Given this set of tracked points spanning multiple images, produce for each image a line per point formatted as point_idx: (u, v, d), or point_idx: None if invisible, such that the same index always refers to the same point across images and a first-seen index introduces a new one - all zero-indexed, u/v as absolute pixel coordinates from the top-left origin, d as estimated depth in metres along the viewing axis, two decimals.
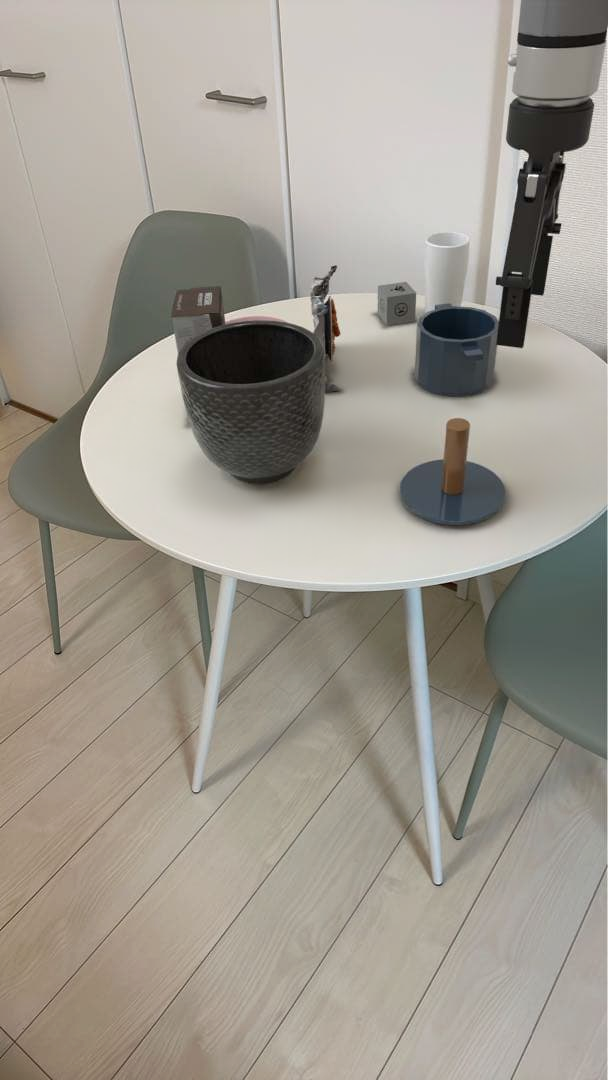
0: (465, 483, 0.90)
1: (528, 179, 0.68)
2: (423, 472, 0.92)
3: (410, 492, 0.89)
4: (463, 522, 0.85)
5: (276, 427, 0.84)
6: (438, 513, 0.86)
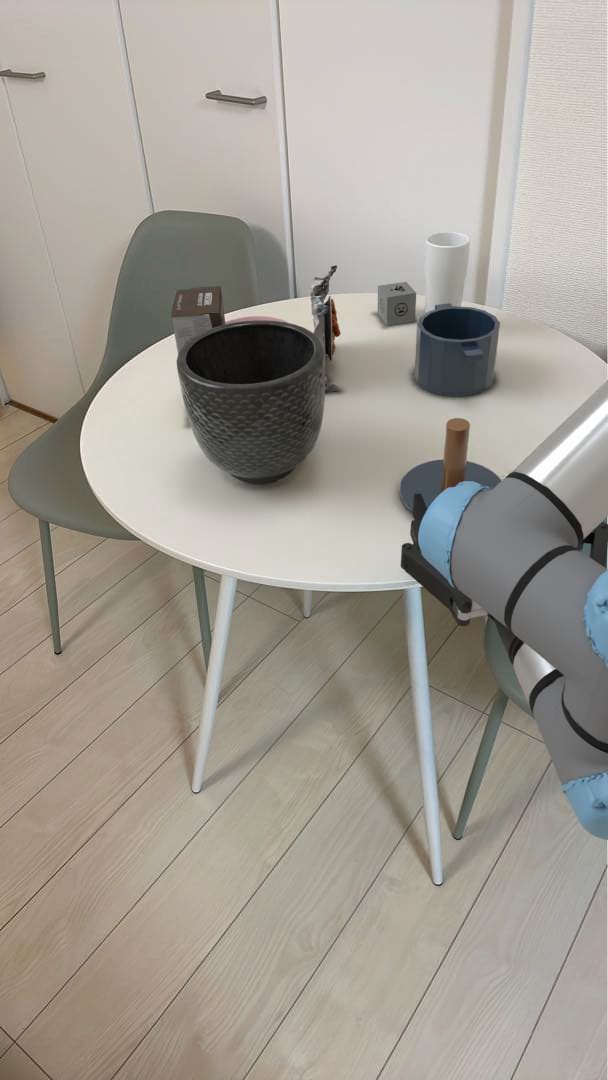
0: None
1: None
2: (423, 472, 0.92)
3: (410, 492, 0.89)
4: None
5: (276, 427, 0.84)
6: None
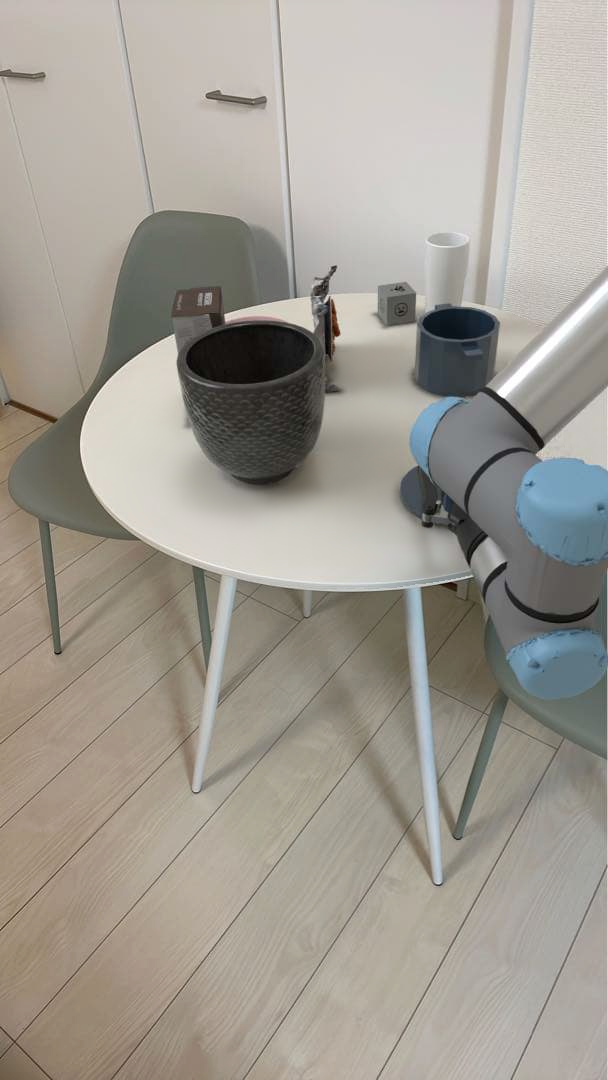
0: None
1: None
2: None
3: (410, 492, 0.89)
4: None
5: (276, 427, 0.84)
6: None
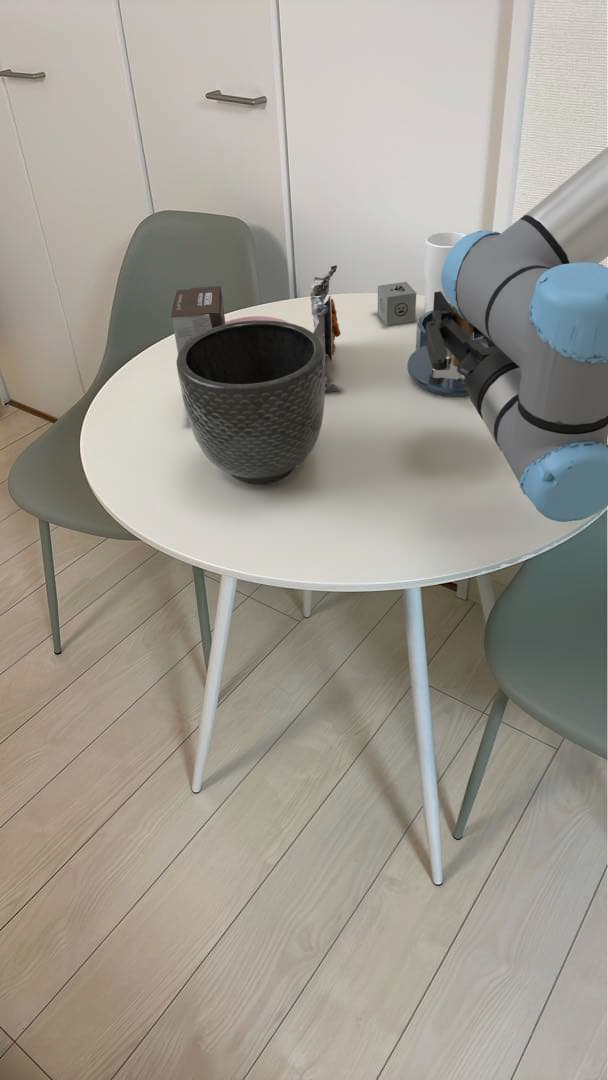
0: None
1: None
2: None
3: (418, 367, 0.89)
4: None
5: (276, 427, 0.84)
6: (446, 383, 0.86)
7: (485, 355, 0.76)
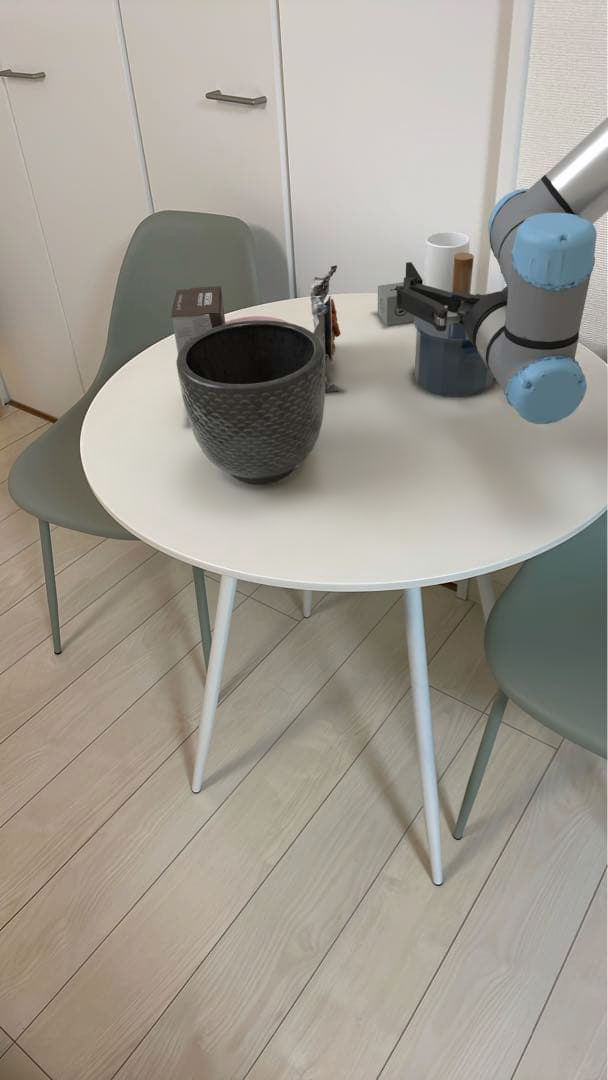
0: None
1: None
2: None
3: (423, 322, 1.06)
4: (468, 341, 1.02)
5: (276, 427, 0.84)
6: (447, 335, 1.03)
7: (480, 299, 0.91)
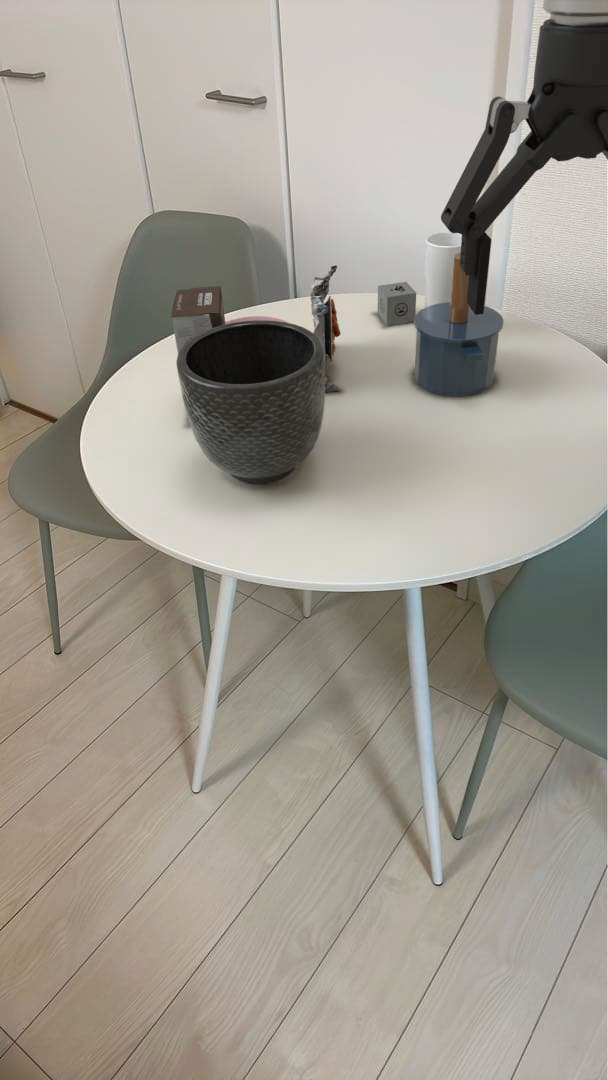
0: (469, 316, 1.07)
1: (493, 105, 0.57)
2: (433, 310, 1.09)
3: (423, 322, 1.06)
4: (468, 341, 1.02)
5: (276, 427, 0.84)
6: (447, 335, 1.03)
7: None
